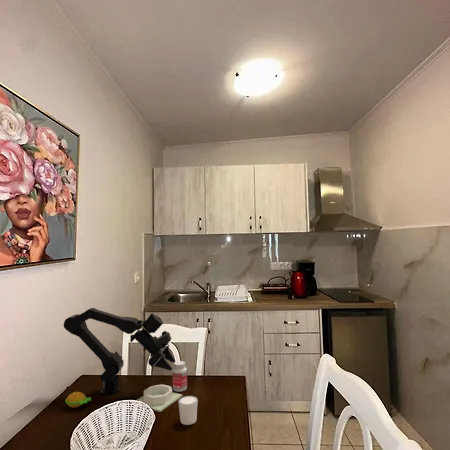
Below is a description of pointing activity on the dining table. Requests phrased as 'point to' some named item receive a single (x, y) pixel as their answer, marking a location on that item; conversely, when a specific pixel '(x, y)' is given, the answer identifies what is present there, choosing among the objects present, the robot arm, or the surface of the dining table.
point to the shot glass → (188, 409)
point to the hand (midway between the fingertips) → (173, 365)
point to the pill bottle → (179, 376)
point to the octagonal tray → (159, 397)
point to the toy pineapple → (76, 399)
